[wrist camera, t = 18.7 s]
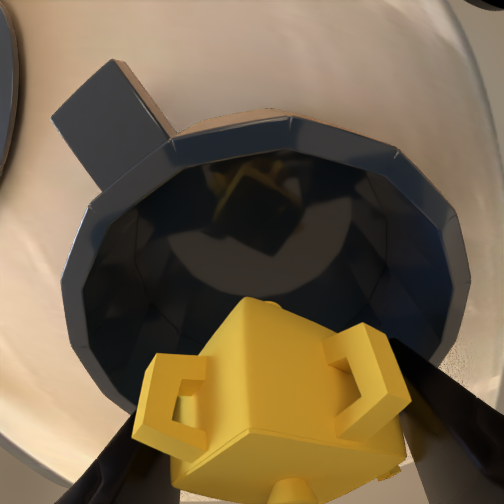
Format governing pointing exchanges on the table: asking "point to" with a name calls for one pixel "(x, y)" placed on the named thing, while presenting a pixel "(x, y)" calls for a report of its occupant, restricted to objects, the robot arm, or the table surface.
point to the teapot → (276, 409)
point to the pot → (245, 232)
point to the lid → (7, 82)
